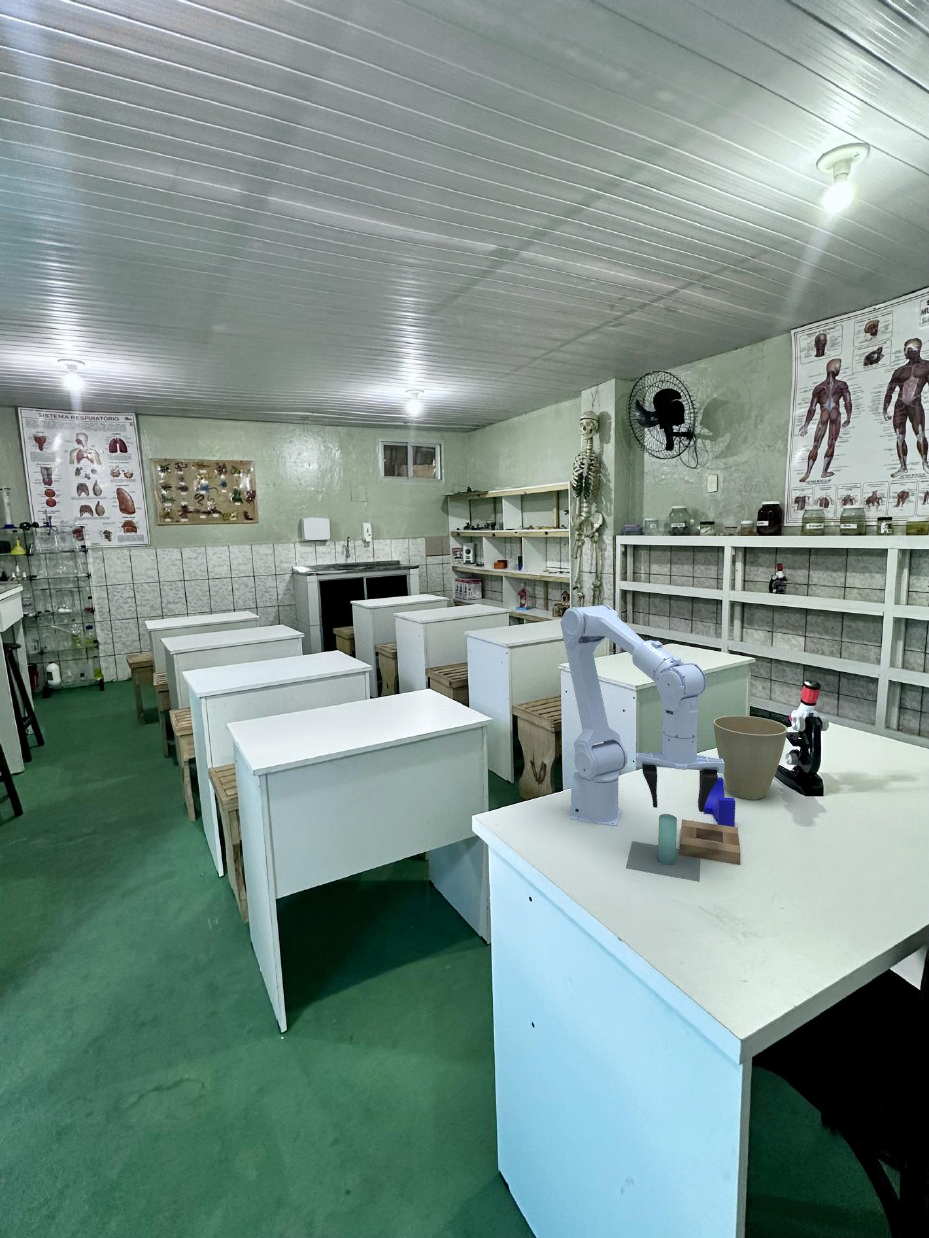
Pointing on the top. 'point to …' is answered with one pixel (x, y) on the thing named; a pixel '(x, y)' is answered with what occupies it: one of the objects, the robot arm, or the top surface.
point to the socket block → (710, 841)
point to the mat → (647, 861)
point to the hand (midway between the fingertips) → (677, 807)
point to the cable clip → (720, 805)
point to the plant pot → (749, 753)
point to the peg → (667, 839)
